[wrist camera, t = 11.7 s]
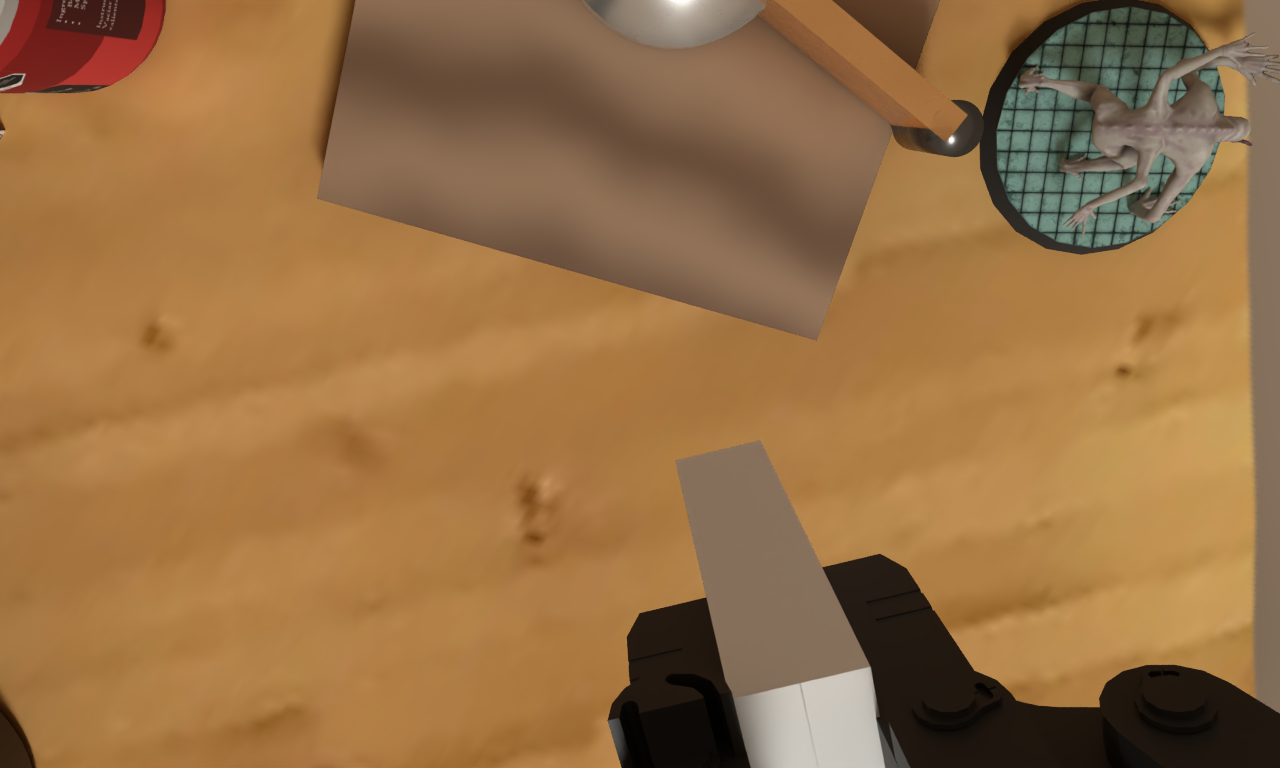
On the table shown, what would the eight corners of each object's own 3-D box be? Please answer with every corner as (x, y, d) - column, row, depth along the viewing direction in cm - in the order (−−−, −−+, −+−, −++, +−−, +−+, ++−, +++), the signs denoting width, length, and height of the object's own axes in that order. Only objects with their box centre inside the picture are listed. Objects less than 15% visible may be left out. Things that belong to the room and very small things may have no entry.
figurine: (1212, 257, 43) (1312, 283, 37) (959, 255, 42) (1019, 282, 36) (1265, -3, 39) (1383, -20, 33) (990, -9, 39) (1062, -27, 33)
